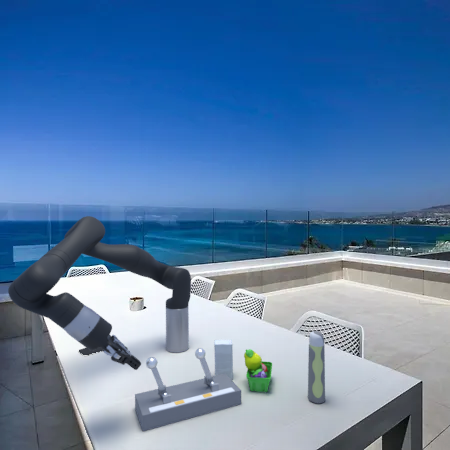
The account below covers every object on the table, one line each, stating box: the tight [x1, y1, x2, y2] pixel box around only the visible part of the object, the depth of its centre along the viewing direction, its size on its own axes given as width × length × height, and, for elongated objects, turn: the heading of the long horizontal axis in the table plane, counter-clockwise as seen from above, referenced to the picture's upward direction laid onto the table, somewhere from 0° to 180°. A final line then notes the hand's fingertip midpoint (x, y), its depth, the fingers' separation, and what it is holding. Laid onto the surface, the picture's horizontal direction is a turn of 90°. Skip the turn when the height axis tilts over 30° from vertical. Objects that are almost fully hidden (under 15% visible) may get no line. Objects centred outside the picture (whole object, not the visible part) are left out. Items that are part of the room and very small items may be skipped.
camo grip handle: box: [307, 330, 326, 404], centre depth 95 cm, size 5×5×20 cm
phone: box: [78, 347, 104, 356], centre depth 134 cm, size 7×1×15 cm
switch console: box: [134, 374, 242, 432], centre depth 93 cm, size 11×28×6 cm, turn 115°
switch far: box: [194, 347, 215, 387], centre depth 95 cm, size 4×3×12 cm
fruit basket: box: [243, 348, 273, 393], centre depth 104 cm, size 11×9×11 cm
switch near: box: [145, 356, 168, 398], centre depth 89 cm, size 4×3×12 cm
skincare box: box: [213, 339, 234, 381], centre depth 109 cm, size 6×4×12 cm
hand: (138, 365), depth 86 cm, fingers closed
